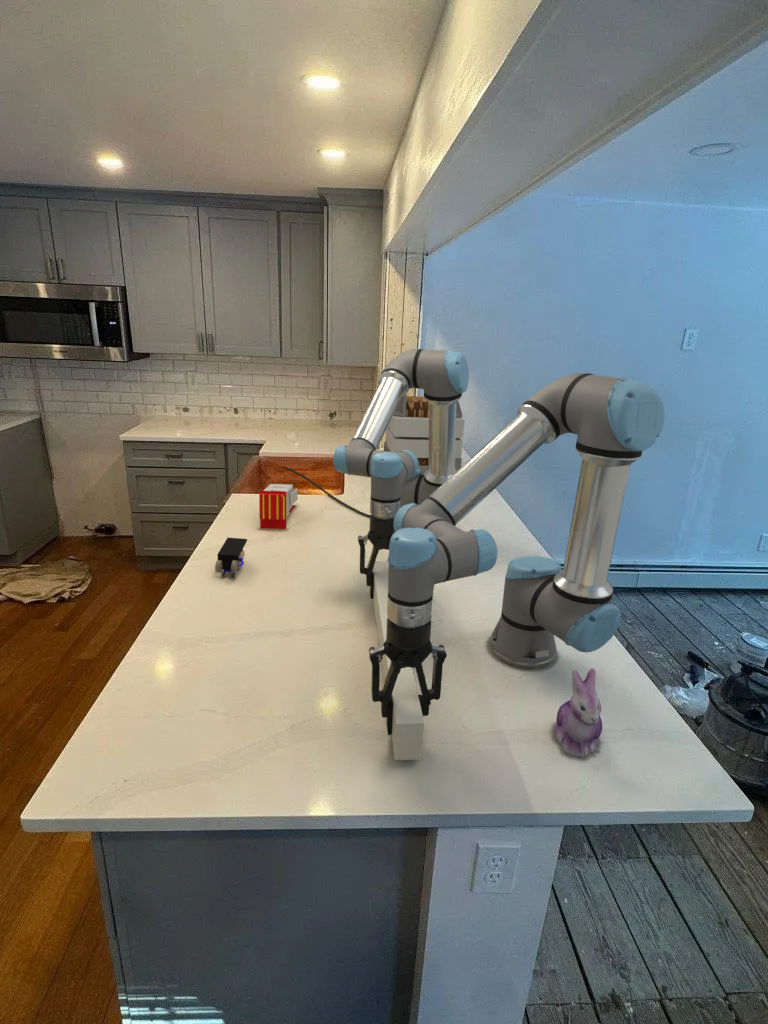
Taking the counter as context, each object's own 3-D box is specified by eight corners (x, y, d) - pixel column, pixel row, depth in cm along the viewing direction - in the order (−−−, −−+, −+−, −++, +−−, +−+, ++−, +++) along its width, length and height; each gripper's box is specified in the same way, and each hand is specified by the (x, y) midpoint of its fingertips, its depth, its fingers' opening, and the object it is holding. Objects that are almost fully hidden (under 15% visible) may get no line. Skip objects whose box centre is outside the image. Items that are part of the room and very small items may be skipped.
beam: (371, 586, 157) (372, 561, 155) (388, 586, 158) (389, 561, 155) (394, 760, 97) (396, 723, 95) (421, 759, 98) (424, 722, 95)
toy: (299, 479, 223) (289, 492, 194) (299, 512, 226) (289, 530, 197) (268, 478, 223) (253, 491, 193) (268, 512, 225) (254, 529, 196)
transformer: (382, 463, 289) (386, 382, 275) (445, 464, 293) (451, 384, 279) (390, 482, 257) (394, 392, 243) (460, 483, 261) (468, 394, 247)
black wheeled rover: (238, 584, 162) (249, 557, 175) (236, 562, 158) (247, 536, 172) (215, 584, 161) (227, 556, 175) (212, 561, 158) (225, 535, 171)
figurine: (579, 767, 100) (594, 696, 95) (539, 730, 108) (551, 663, 103) (617, 750, 104) (633, 682, 99) (576, 716, 112) (588, 651, 107)
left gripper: (349, 519, 139) (348, 603, 147) (421, 520, 140) (416, 602, 148) (349, 509, 146) (348, 589, 154) (417, 509, 147) (413, 589, 155)
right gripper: (357, 631, 91) (356, 746, 100) (465, 629, 93) (456, 742, 101) (355, 607, 98) (354, 716, 107) (456, 605, 100) (448, 713, 108)
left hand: (381, 596), depth 151 cm, fingers closed on beam, 5 cm apart
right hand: (404, 728), depth 104 cm, fingers closed on beam, 5 cm apart
